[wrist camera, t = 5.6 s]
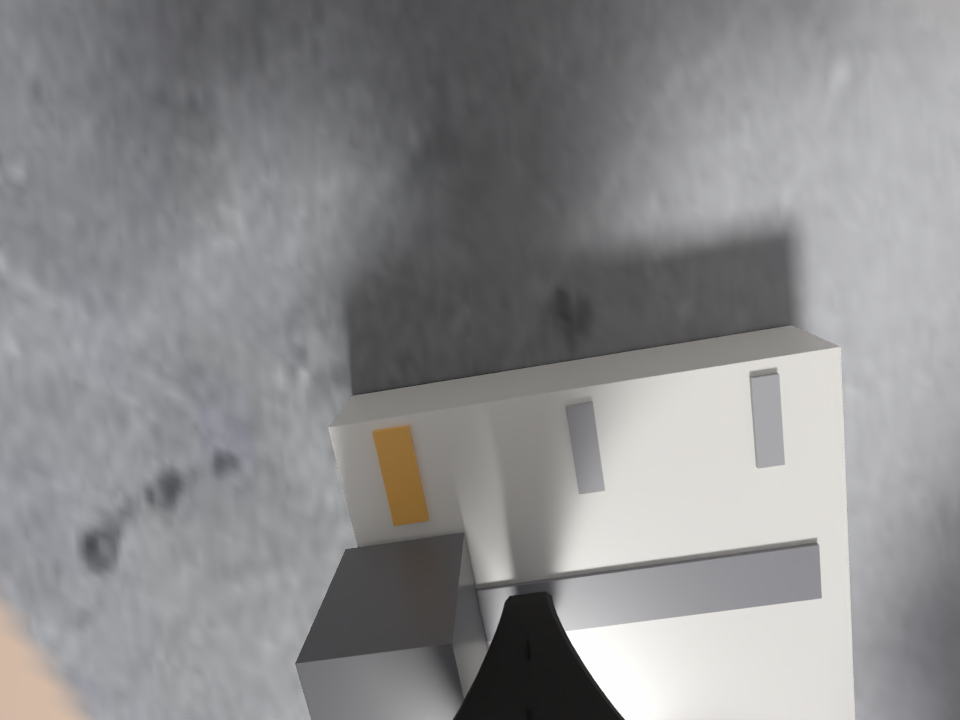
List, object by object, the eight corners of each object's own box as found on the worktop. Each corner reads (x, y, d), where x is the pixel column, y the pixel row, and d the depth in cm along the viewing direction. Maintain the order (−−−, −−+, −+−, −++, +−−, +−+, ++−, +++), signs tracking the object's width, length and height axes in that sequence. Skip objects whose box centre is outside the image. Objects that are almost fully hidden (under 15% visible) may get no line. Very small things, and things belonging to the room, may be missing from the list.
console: (811, 680, 16) (858, 753, 14) (429, 725, 16) (419, 800, 14) (791, 325, 13) (843, 348, 11) (352, 395, 14) (326, 429, 12)
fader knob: (498, 700, 13) (497, 852, 10) (387, 714, 14) (354, 867, 10) (464, 532, 12) (452, 642, 9) (346, 548, 13) (295, 663, 10)
